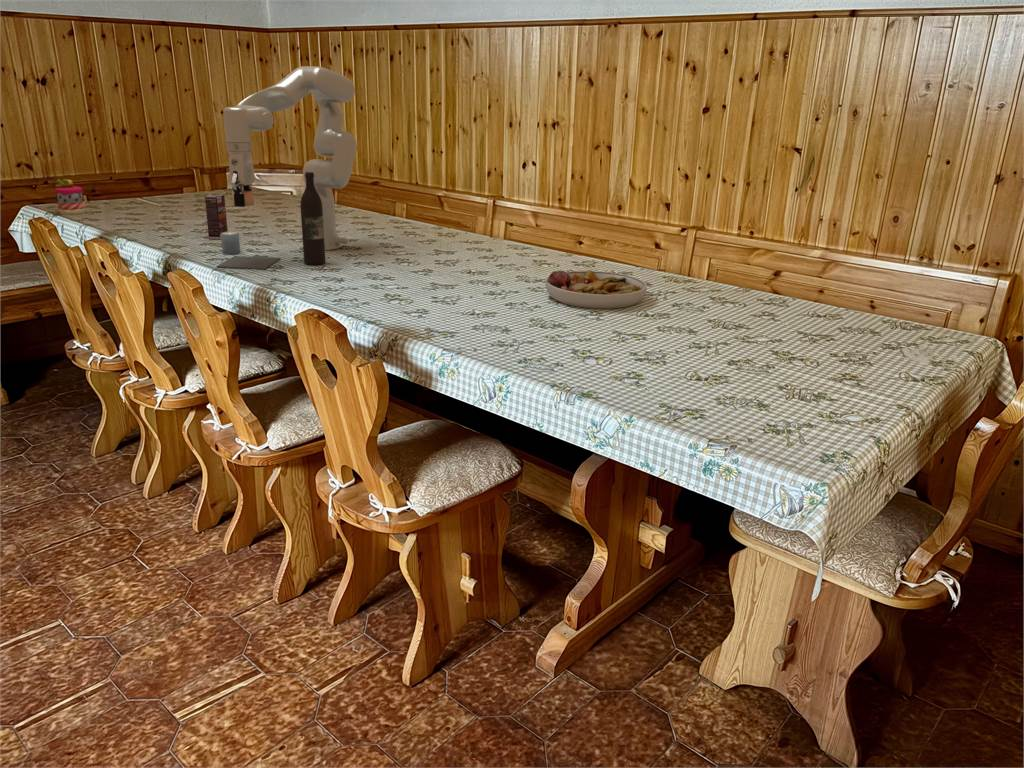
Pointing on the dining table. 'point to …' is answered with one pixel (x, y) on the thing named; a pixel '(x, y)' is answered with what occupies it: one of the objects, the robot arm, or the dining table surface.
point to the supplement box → (216, 215)
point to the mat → (249, 262)
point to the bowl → (595, 289)
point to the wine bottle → (312, 224)
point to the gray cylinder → (230, 243)
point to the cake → (69, 198)
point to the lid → (246, 197)
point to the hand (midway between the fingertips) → (243, 204)
